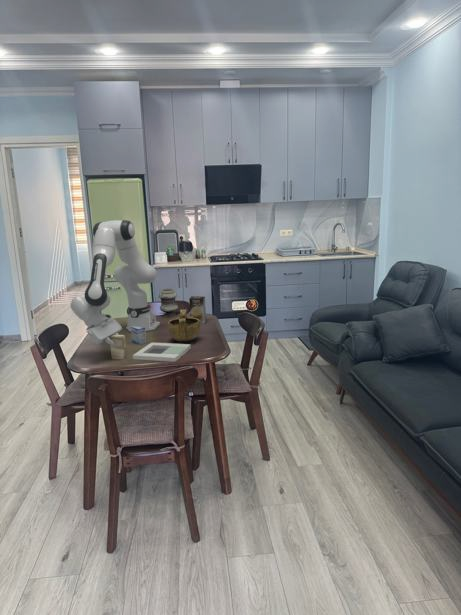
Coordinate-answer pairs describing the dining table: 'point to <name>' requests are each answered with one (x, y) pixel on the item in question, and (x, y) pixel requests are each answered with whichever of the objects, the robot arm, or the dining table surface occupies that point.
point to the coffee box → (198, 308)
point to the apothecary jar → (168, 302)
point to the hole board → (162, 352)
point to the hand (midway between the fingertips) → (117, 343)
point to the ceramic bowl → (184, 327)
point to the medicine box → (138, 334)
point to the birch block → (118, 347)
